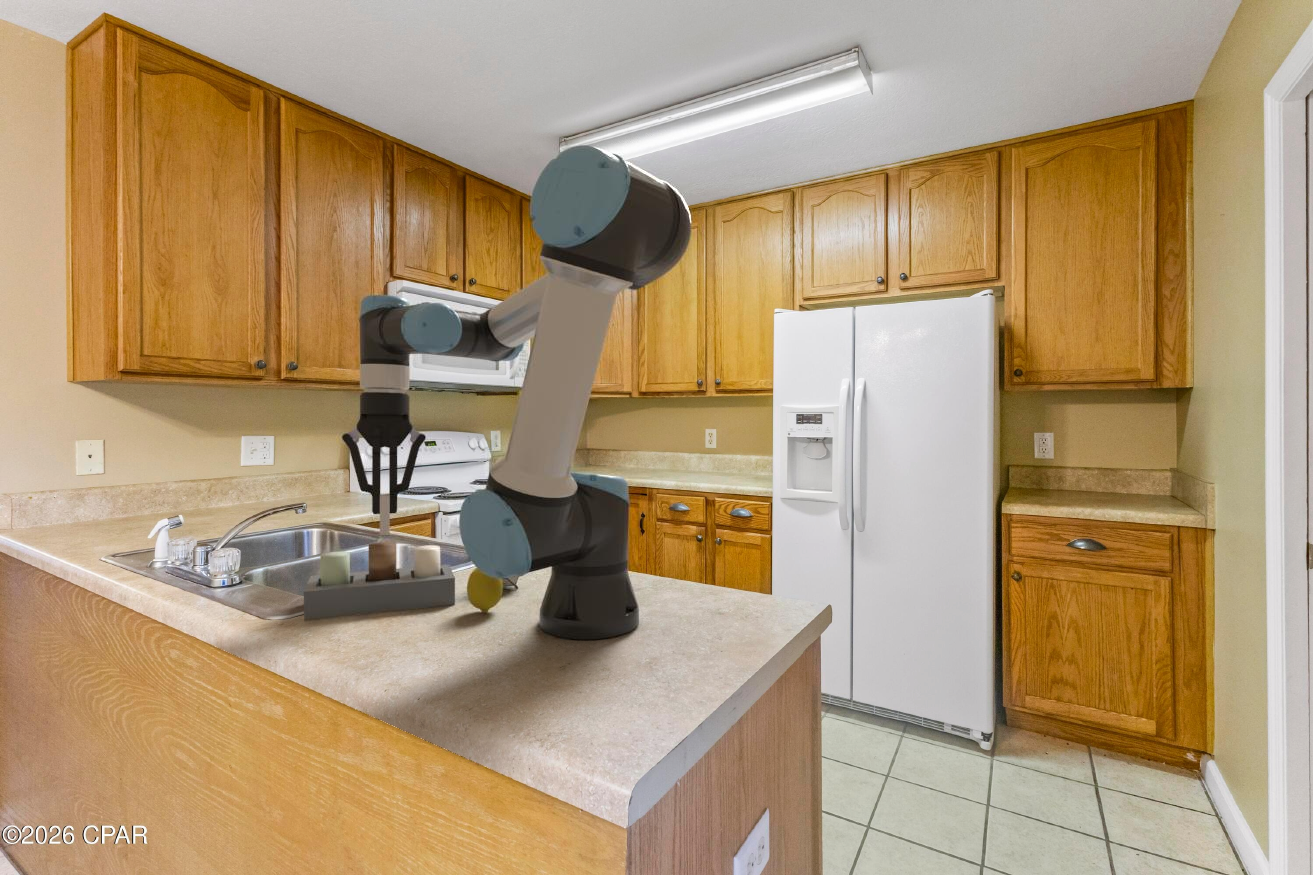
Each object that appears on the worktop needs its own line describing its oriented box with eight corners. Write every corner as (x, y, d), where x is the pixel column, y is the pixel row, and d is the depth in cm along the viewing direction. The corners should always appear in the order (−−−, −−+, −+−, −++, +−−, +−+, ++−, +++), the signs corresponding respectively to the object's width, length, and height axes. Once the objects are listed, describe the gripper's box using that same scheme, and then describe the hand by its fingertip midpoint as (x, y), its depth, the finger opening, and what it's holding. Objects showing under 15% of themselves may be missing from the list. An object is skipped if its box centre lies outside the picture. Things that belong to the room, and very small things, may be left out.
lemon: (493, 619, 97) (493, 568, 97) (460, 616, 98) (460, 566, 98) (508, 608, 102) (508, 560, 102) (477, 606, 104) (477, 558, 103)
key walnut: (396, 587, 103) (396, 545, 103) (368, 590, 101) (368, 547, 101) (396, 581, 107) (395, 540, 107) (369, 583, 105) (368, 542, 105)
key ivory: (441, 590, 106) (441, 549, 106) (414, 592, 104) (414, 551, 104) (439, 584, 110) (439, 544, 110) (413, 586, 108) (413, 546, 108)
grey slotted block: (454, 604, 104) (454, 577, 104) (304, 620, 95) (303, 591, 95) (449, 588, 113) (448, 564, 113) (310, 602, 104) (310, 575, 104)
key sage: (349, 599, 100) (349, 556, 100) (319, 602, 99) (319, 558, 98) (350, 592, 104) (350, 550, 104) (322, 595, 103) (321, 552, 102)
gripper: (425, 393, 109) (425, 527, 110) (342, 390, 104) (342, 531, 105) (428, 392, 102) (427, 535, 104) (339, 389, 97) (339, 540, 98)
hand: (384, 533), depth 104 cm, fingers closed
